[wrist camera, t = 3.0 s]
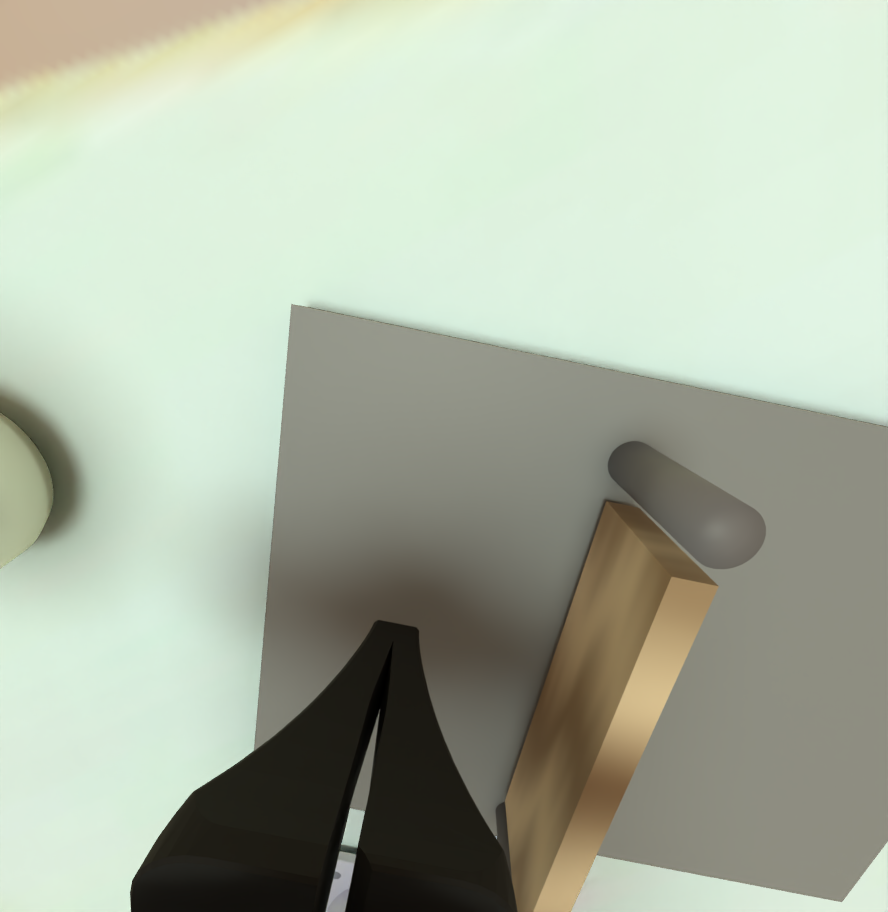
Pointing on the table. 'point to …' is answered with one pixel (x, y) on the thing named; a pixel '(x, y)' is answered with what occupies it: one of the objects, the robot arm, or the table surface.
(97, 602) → the table surface
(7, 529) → the plastic bottle
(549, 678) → the board
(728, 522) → the gate board
